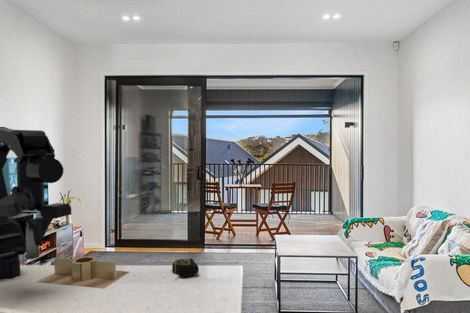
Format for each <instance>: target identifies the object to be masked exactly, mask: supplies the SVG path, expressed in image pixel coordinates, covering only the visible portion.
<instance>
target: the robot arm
mask: <svg viewBox="0 0 470 313" xmlns="http://www.w3.org/2000/svg"><path fill="white" fill-rule="evenodd" d="M10 151H12V152H13V153H14V154H15V156H16V157H15V159H14V160H13V162H14V163H15V164H16V186H12V188H11V194H9V193H8V190H7V189H8V188H7V186H6V185H7V184H6V180H5V174H4V171H3V169H4V166H5V165H6V164H7V160H8V157H7V156H8V155H9V153H10ZM55 151H56V150H55V149H54V147H53V146H52V144H51V142H50V139H49V137H48V135H46V132H45V131H44V130H37V129H35V130H34V129H33V130H28V129H13V128H9V127H6V126H0V281H1V280H10V279H12V280H13V279H15V278H17V277H20V276H21V261H20V256H21V255H26V232H25V221H28V220H30V221H31V223H32V224H33V225H34V239H35V245H36V246H38V245H39V246H40V245H41V244H42V241H43V239H44V237H45V235H46V234H47V233H46V232H47V231H48V228H49V227H50V225H51V223H52V222H53V220H54V219H58V218H62V217H67V216H71V215H72V207H71V205H70V204H69V203H66V202H65V203H63V202H61V203H60V202H56V203H50V204H49V200H45V190H47V189H48V188H49V184H53V183H56V182H58V181H60V180H61V178H62V177H63V175H64V166H63V164H62V163H61V161H60V160H58V158H57V159H56V154H55Z"/></svg>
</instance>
